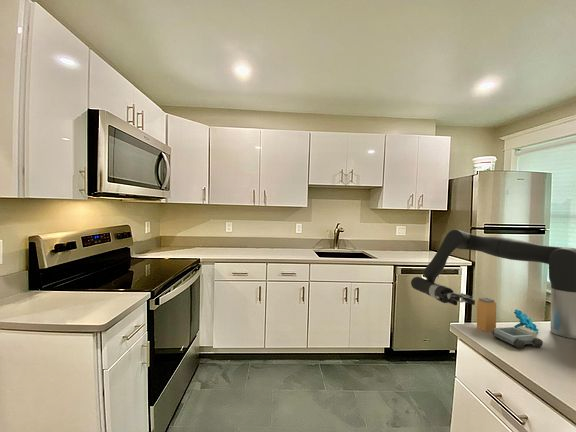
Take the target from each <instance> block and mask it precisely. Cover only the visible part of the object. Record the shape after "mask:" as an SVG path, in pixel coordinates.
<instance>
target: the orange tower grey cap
mask: <svg viewBox="0 0 576 432" xmlns="http://www.w3.org/2000/svg"><path fill="white" fill-rule="evenodd" d="M476 328H478V329H479V330H482V331H483V332H484V333H485V332H486V333H489V332H493V330H494V328H497V302H496V301H495V300H494V299H491V298H488V297H478V299H476Z"/></svg>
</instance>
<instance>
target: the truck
mask: <svg viewBox="0 0 576 432" xmlns="http://www.w3.org/2000/svg"><path fill="white" fill-rule="evenodd" d="M491 332H492V336H493V337H495V338H496V339H500V340H501V341H504V342H506V343H508V344H510V345H512V346H514V347H515V348H517V349H519V350H522V349H524V348H525V345H533V346H534V347H535V348H538V349H540V348H542V347H543V345H544V342H543V340H542V339H541V338H539V337H538V336H537V335H538V333H537V332H538V331H537V332H536V331H533V330H531V329H530V328H529V329H528V328H526V327H525V326H522V327H521V326H520V327H517V328H515V327H514V326H513V327H512V326H509V327H508V326H507V327H496V328H494V330H493V331H491Z"/></svg>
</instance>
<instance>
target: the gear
mask: <svg viewBox="0 0 576 432" xmlns="http://www.w3.org/2000/svg"><path fill="white" fill-rule="evenodd" d="M513 314H515V318H516V319H518V320H519V323H517V324H515V325H514V326H513V327H514V328H516V329H517V327H526V328H528V329H531V330H533V331H536V332H537V334H539V329H538V328H537V327H538V326H537V325H536V323H534V322H533V318H531V317H528V315H527V314H526V313H524V312H523V311H522V310H520V309H514V311H513Z"/></svg>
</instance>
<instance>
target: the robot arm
mask: <svg viewBox="0 0 576 432" xmlns="http://www.w3.org/2000/svg"><path fill="white" fill-rule="evenodd" d="M456 249H457V250H468V251H476V252H481V253H484V254H487V255H490V256H494V257H497V258H501V259H507V260H510V261H522V262H535V263H543V264H546V265H548V279H549V282H550V332H551V333H552V334H554V335H557V336H560V337H563V338H568V339H576V247H575V248H574V247H569V246H568V247H565V246H554V245H552V246H551V245H544V244H543V245H542V244H538V243H535V242H530V241H525V240H520V239H516V238H509V237H501V236H482V235H476V234H472V233H469V232H466V231H463V230H459V229H451V230H449V232H447V233H446V236H444V239H443V241H442V242H441V244H440V247H439V248H438V250H437V251H436V253H435V255H434V256H433V258H432V259H431V261H430V262H428V265H427V266H426V267H425V268H424V270H423V271H422V274H423V275H424V276H425V279H424V278H422V277H420V276H414V277H413V278H412V279H411V281H410V285H411V288H413V289H414V290H416V291H419V292H420V293H424V294H426V295H428V296H429V297H432V298H433V299H435V300H436V301H439V302H441V303H442V304H450V305H453V306H458V303H468V304H470V305H472V306H474V305H476V300H475V299H474V298H473V296H471V295H468V294H465V293H462V292H460V293H457V292H454V290H453V289H452V288H450V287H448V286H445V285H442V284H440V283H436V282H435V281H436V280H437V278H438V276H439V275H440V274H441V273H442V271H443V270H444V269H445V267H446V264H447V261H448V259H449V256H450V255H451V254H452V253H453V252H454V251H455V250H456Z"/></svg>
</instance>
